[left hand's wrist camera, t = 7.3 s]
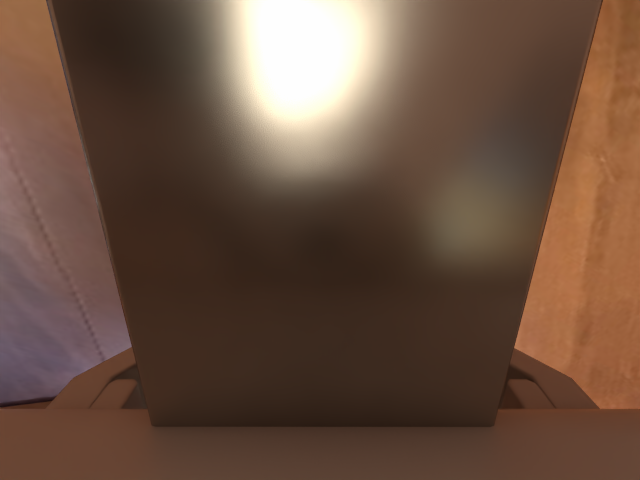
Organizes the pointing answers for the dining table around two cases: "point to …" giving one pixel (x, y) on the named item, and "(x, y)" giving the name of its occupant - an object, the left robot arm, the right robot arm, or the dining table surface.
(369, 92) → the bar
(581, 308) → the dining table surface
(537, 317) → the dining table surface
